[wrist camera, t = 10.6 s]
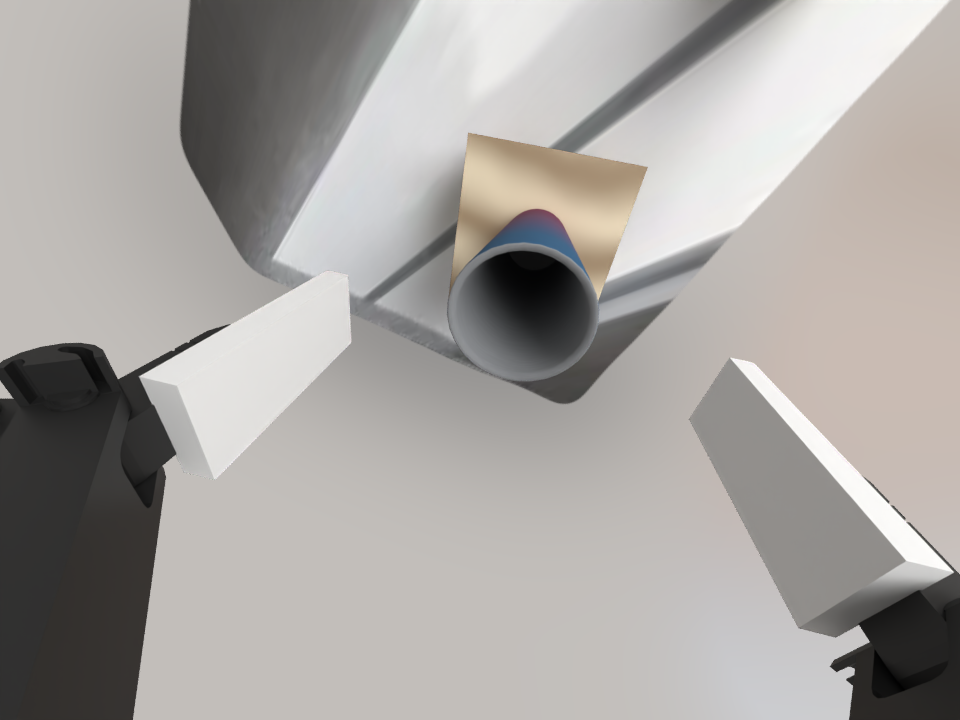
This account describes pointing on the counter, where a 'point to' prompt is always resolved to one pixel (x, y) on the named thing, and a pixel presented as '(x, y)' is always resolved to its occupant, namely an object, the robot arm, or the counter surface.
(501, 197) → the beige streaked flat-top fixture
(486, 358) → the cup
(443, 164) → the counter surface
